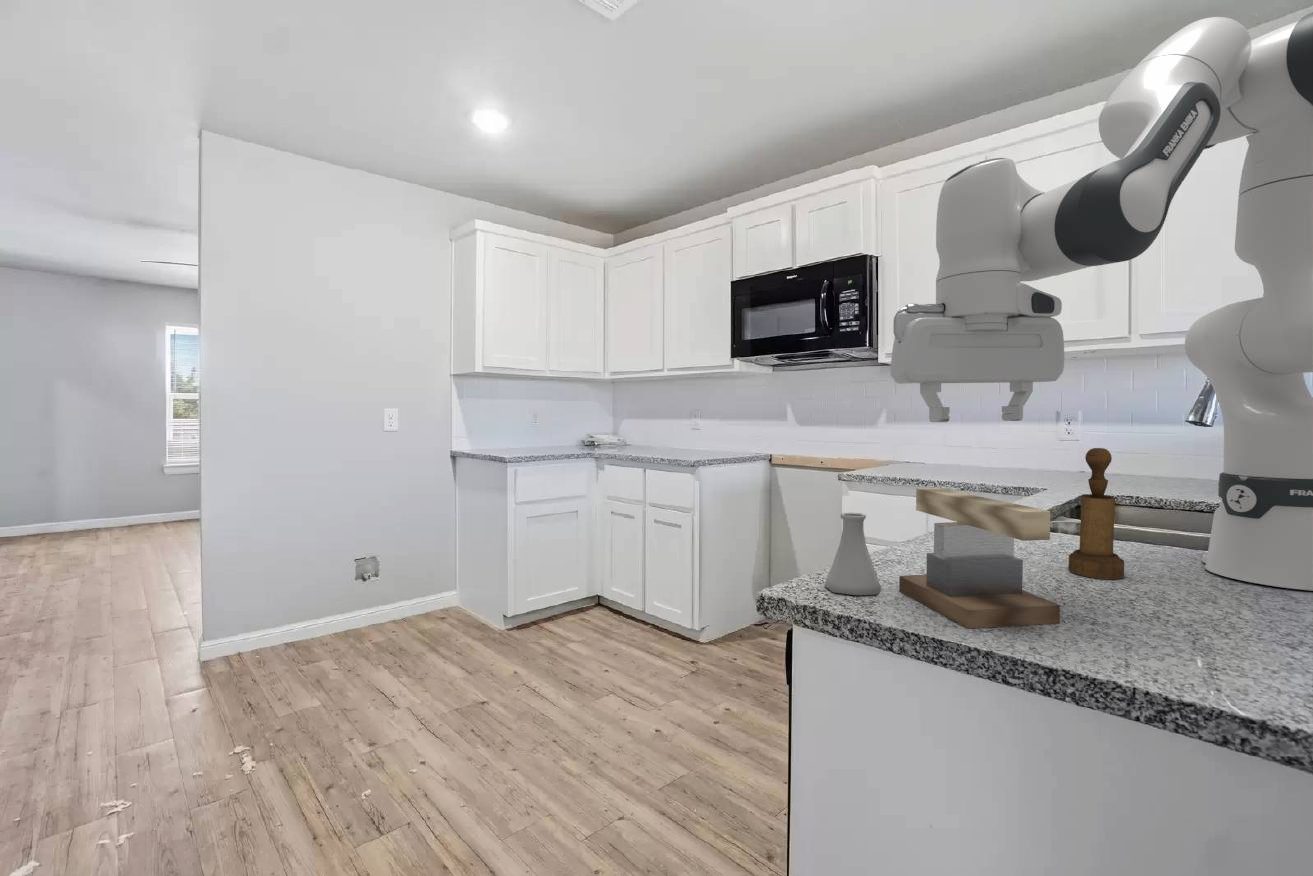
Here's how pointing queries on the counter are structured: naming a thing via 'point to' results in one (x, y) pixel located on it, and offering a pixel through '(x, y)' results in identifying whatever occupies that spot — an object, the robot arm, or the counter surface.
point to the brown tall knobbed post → (1097, 525)
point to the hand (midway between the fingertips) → (976, 421)
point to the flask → (853, 561)
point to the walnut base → (983, 606)
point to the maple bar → (985, 513)
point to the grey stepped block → (972, 562)
